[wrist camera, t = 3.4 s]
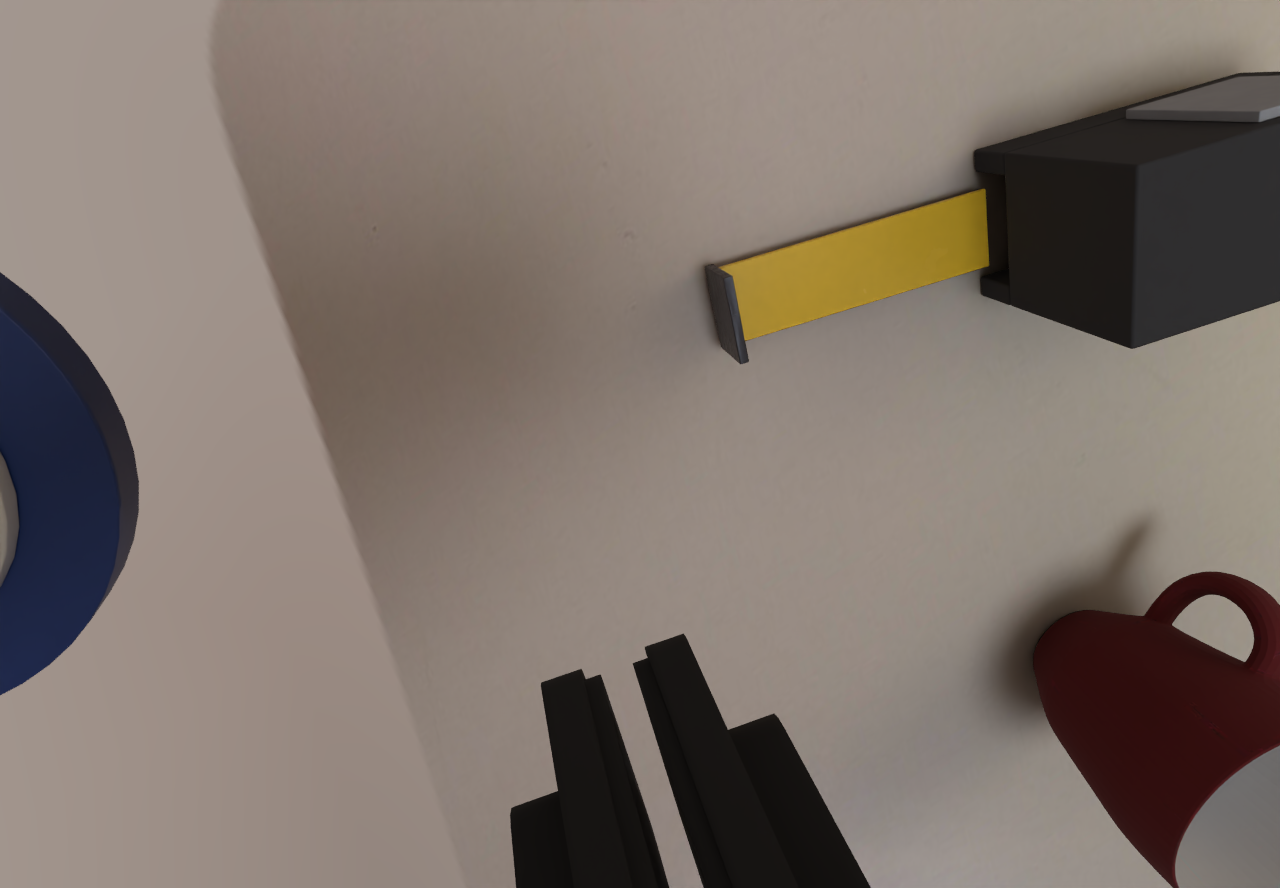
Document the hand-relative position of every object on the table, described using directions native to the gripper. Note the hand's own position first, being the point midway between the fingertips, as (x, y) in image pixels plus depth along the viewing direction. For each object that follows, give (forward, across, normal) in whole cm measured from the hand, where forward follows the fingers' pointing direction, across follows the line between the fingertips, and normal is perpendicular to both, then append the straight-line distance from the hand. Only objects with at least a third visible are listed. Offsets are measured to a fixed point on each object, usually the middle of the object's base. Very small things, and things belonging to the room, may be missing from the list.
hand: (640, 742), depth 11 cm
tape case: (+17, -21, 0) cm, 27 cm away
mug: (+17, -20, +19) cm, 33 cm away
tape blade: (+17, -12, 0) cm, 21 cm away
